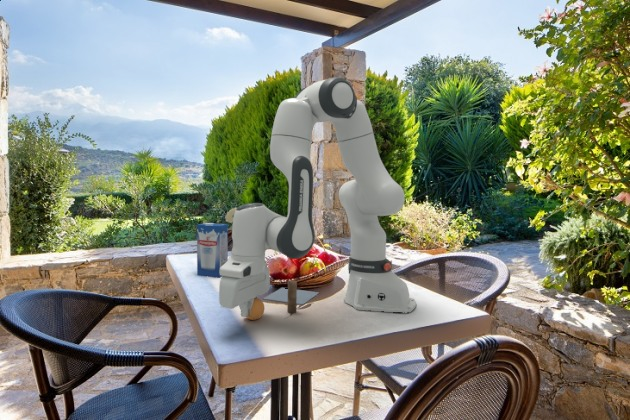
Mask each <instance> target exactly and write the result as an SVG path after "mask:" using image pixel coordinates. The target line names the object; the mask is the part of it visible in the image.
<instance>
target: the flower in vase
mask: <svg viewBox="0 0 630 420" xmlns="http://www.w3.org/2000/svg"><path fill="white" fill-rule="evenodd" d="M237 208H238V207H234V208H233V207H232V208H231V209H229V211H227V212H226V215H225V217H224V218H225V222H227V223H232V224H233V219H234V214H235V211H236V209H237ZM232 227H233V225H231V226H230V227H228V231H229V230H230V231H232ZM228 257H229V258H231V255H230V256H228ZM229 258H228V259H229Z"/></svg>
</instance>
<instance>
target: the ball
mask: <svg viewBox="0 0 630 420" xmlns="http://www.w3.org/2000/svg"><path fill="white" fill-rule="evenodd" d="M264 313H265V304H264V301H263V300H261V298H258V297H257V298H254V303H253V305H252V308H251V314H250V315H249V316H247V317H245V318H246V319H248V320H252V321H255V320H258V319H260V318H261V317H262V316H263V315H264Z"/></svg>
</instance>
